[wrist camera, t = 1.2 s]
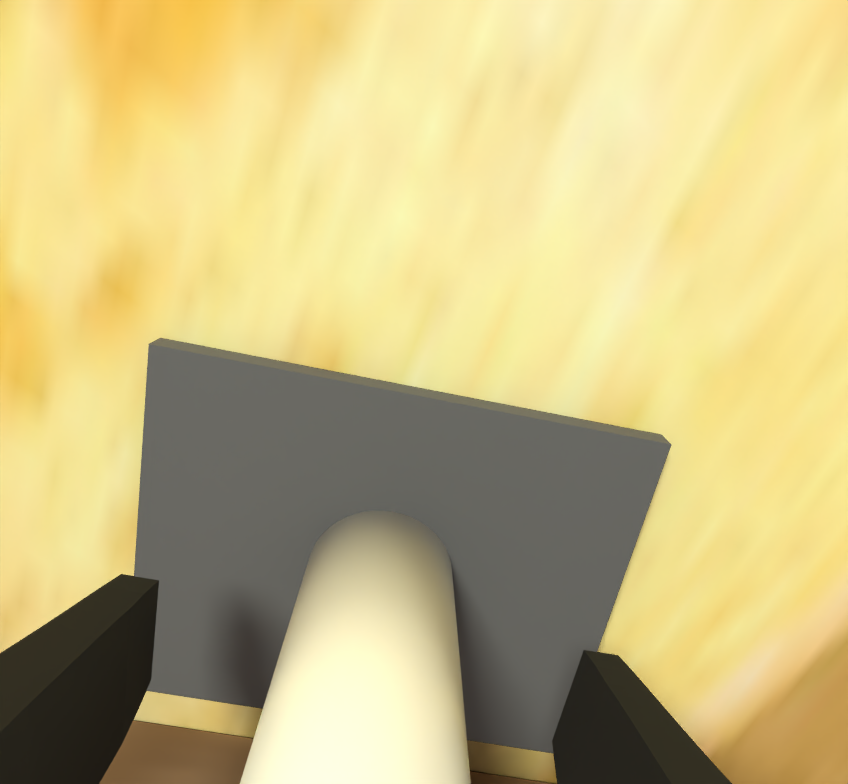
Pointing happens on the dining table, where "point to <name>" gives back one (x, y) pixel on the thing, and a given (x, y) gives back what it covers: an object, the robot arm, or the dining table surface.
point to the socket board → (199, 758)
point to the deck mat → (379, 491)
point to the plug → (367, 665)
